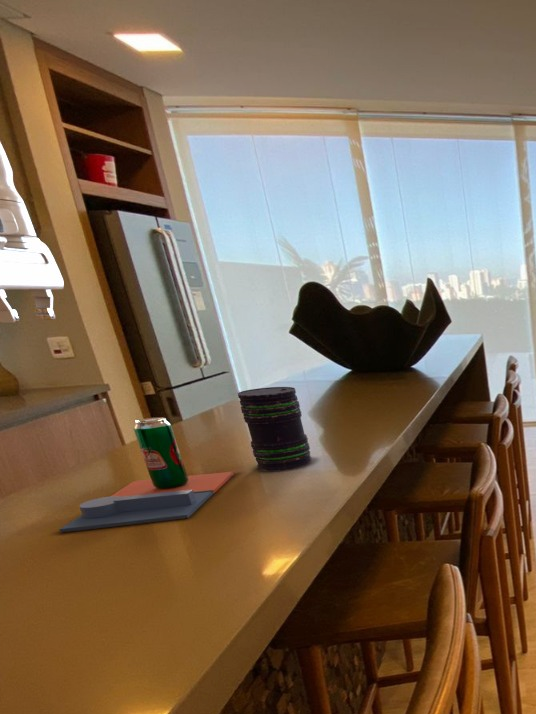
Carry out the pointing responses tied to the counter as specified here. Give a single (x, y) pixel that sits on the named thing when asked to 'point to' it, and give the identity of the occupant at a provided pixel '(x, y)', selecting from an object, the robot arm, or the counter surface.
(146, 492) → the sorting mat
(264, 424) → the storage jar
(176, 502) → the rounded-end blue bar
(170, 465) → the soda can
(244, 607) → the counter surface
